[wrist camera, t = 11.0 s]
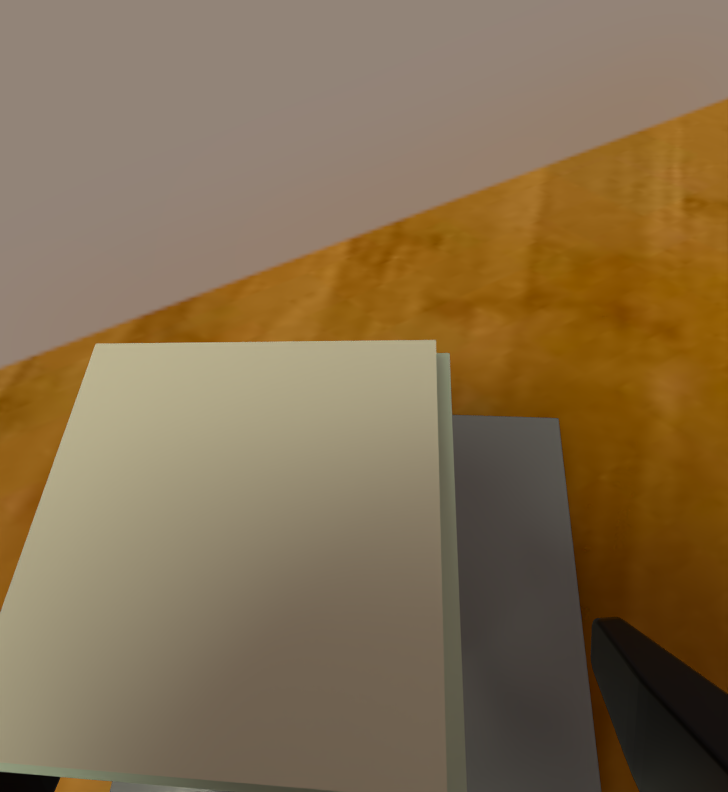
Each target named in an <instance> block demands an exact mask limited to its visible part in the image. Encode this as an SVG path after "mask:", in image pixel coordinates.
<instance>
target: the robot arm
mask: <svg viewBox="0 0 728 792" xmlns="http://www.w3.org/2000/svg"><path fill="white" fill-rule="evenodd" d="M591 663H592V668H593V671H594V674H595V677H596V680H597V682H598V685H599V688H600V691H601V693H602V696H603V699H604V701H605V704H606V707H607V709H608V712H609V715H610V718H611V720H612V723H613V726H614V728H615V731H616V734H617V736H618V739H619V742H620V745H621V747H622V750H623V753H624V755H625V758H626V760H627V763H628V766H629V768H630V771H631V773H632V776H633V778H634V780H635V782H636V784H637V787H638V789H639V791H640V792H728V694H727V693H726V692H724V691H723V690H722V689H720V688H719V687H717V686H716V685H715V684H713V683H712V682H710V681H709V680H707V679H706V678H705V677H703V676H702V675H700V674H699V673H698V672H696V671H695V670H693V669H692V668H691V667H689V666H688V665H686V664H685V663H684V662H682V661H681V660H679V659H678V658H676V657H675V656H674V655H672V654H671V653H669V652H668V651H667V650H665V649H664V648H662V647H661V646H660V645H658V644H657V643H655V642H654V641H652V640H651V639H650V638H648V637H647V636H645V635H644V634H643V633H641V632H640V631H638V630H637V629H636V628H634V627H633V626H631V625H630V624H629V623H627V622H626V621H624V620H623V619H621V618H618V617H607V618H596V619H595V620H594V621H593V623H592V637H591ZM59 779H60V777H57V776H45V775H34V774H22V773H11V772H0V792H54V791H55V789H56V787H57V784H58V782H59Z"/></svg>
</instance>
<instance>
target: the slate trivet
mask: <svg viewBox="0 0 728 792" xmlns="http://www.w3.org/2000/svg"><path fill="white" fill-rule="evenodd" d="M452 428H453V453H454V478H455V503H456V528H457V553H458V578H459V603H460V628H461V653H462V679H463V704H464V729H465V754H466V779H467V792H601V784H600V775H599V767H598V758H597V749H596V741H595V732H594V723H593V715H592V706H591V697H590V689H589V680H588V671H587V663H586V654H585V645H584V637H583V628H582V619H581V611H580V602H579V593H578V584H577V576H576V567H575V558H574V550H573V541H572V532H571V524H570V515H569V506H568V498H567V489H566V480H565V472H564V463H563V454H562V446H561V437H560V428H559V420H558V418H534V417H502V416H470V415H452ZM110 792H231V791H219V790H207V789H196V788H184V787H173V786H161V785H150V784H138V783H126V782H115V781H112V785H111V789H110Z"/></svg>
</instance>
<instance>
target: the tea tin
mask: <svg viewBox="0 0 728 792" xmlns="http://www.w3.org/2000/svg"><path fill="white" fill-rule="evenodd" d="M0 772H11V773H22V774H34V775H45V776H57V777H69V778H80V779H92V780H103V781H115V782H126V783H138V784H150V785H161V786H173V787H184V788H196V789H207V790H219V791H231V792H467V779H466V754H465V729H464V704H463V679H462V653H461V628H460V603H459V578H458V553H457V528H456V503H455V478H454V453H453V428H452V403H451V378H450V353H436V340H394V341H304V342H214V343H123V344H96V345H95V348H94V350H93V353H92V356H91V359H90V362H89V364H88V367H87V370H86V373H85V376H84V379H83V381H82V384H81V387H80V390H79V393H78V395H77V398H76V401H75V404H74V407H73V410H72V412H71V415H70V418H69V421H68V424H67V426H66V429H65V432H64V435H63V438H62V441H61V443H60V446H59V449H58V452H57V455H56V457H55V460H54V463H53V466H52V469H51V472H50V474H49V477H48V480H47V483H46V486H45V488H44V491H43V494H42V497H41V500H40V503H39V505H38V508H37V511H36V514H35V517H34V519H33V522H32V525H31V528H30V531H29V534H28V536H27V539H26V542H25V545H24V548H23V550H22V553H21V556H20V559H19V562H18V565H17V567H16V570H15V573H14V576H13V579H12V581H11V584H10V587H9V590H8V593H7V596H6V598H5V601H4V604H3V607H2V610H1V612H0Z"/></svg>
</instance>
